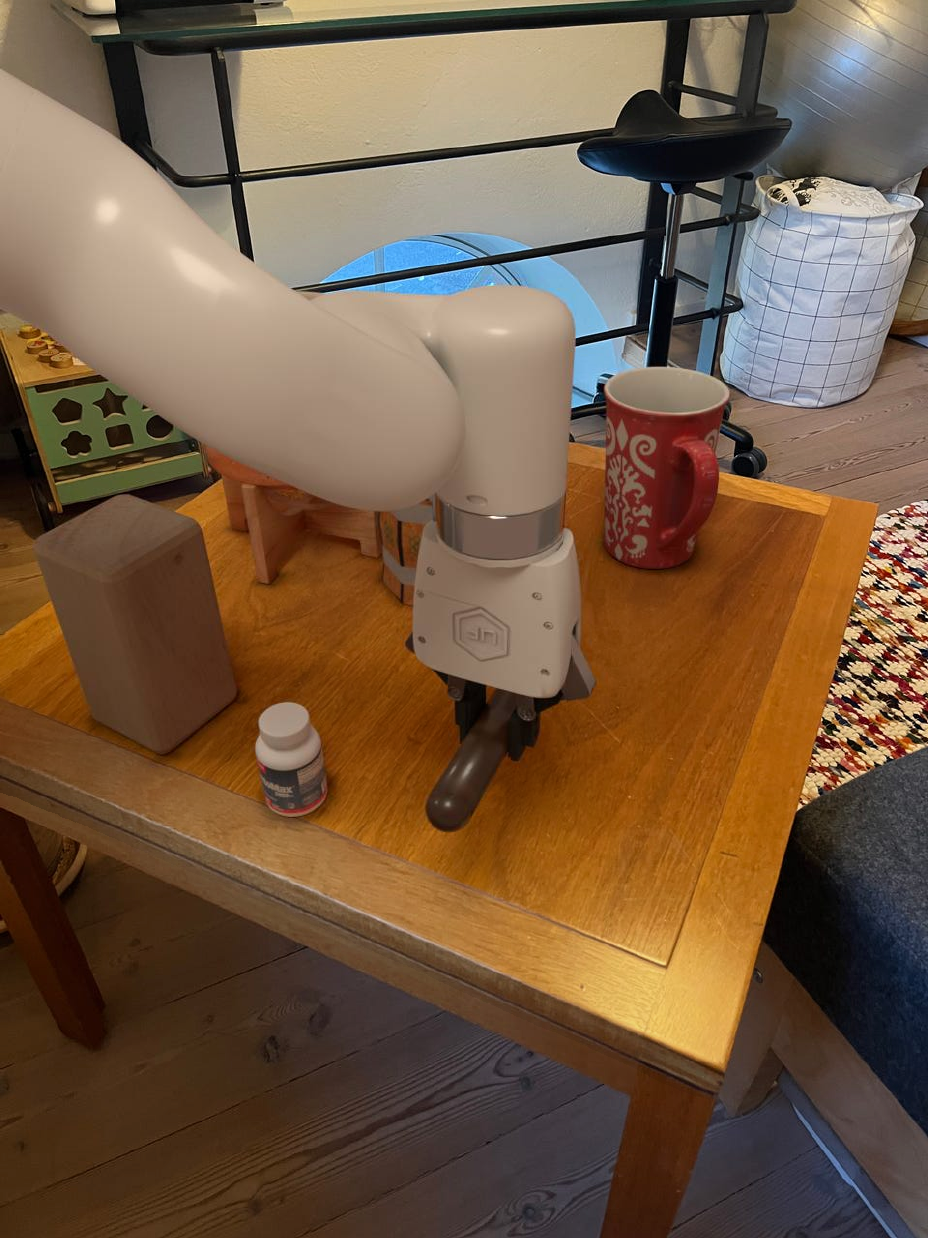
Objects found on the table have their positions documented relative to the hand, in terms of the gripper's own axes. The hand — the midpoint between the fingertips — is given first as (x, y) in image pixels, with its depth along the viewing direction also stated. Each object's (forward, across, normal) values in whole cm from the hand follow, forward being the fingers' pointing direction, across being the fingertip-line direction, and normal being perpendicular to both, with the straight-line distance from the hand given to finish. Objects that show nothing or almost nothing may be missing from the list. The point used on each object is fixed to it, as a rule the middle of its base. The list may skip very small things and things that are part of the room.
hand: (496, 738), depth 64 cm
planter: (+13, -39, +35) cm, 54 cm away
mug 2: (+13, 0, +48) cm, 49 cm away
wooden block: (+13, -35, +4) cm, 38 cm away
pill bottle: (+13, -18, 0) cm, 22 cm away
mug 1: (+13, -18, +36) cm, 42 cm away
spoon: (0, 0, 0) cm, 0 cm away
